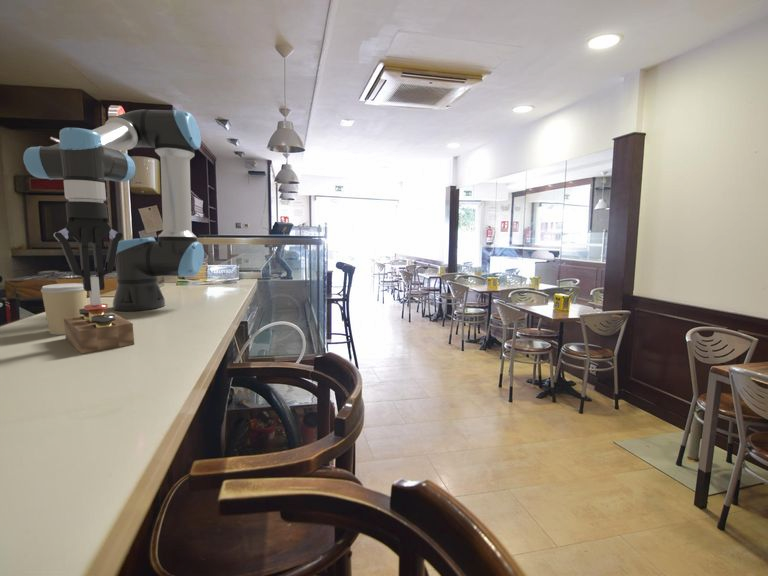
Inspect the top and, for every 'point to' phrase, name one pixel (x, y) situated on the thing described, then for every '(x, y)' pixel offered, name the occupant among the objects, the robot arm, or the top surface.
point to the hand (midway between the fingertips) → (95, 304)
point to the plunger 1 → (84, 313)
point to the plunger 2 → (103, 320)
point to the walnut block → (98, 334)
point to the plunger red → (95, 310)
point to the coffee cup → (62, 304)
